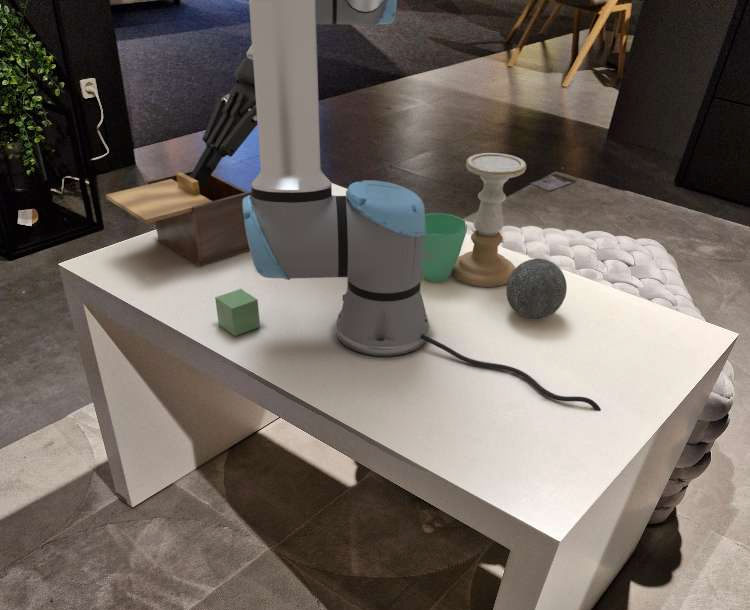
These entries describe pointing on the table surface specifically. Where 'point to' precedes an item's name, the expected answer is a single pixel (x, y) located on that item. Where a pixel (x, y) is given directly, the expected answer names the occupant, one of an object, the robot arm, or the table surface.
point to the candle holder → (488, 222)
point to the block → (237, 312)
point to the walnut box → (208, 223)
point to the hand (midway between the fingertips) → (196, 182)
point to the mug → (441, 245)
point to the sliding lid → (160, 199)
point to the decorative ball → (536, 289)
